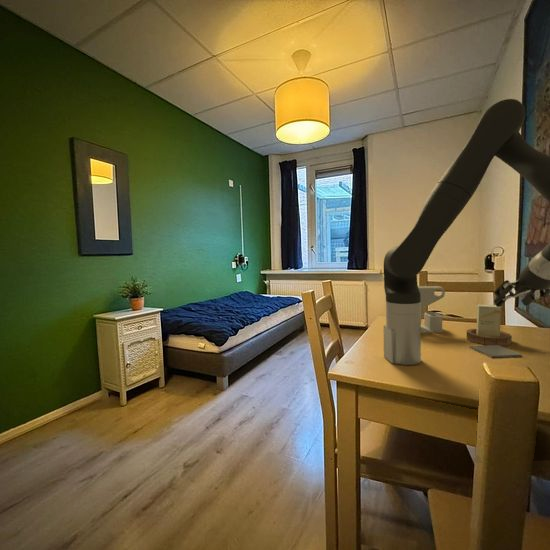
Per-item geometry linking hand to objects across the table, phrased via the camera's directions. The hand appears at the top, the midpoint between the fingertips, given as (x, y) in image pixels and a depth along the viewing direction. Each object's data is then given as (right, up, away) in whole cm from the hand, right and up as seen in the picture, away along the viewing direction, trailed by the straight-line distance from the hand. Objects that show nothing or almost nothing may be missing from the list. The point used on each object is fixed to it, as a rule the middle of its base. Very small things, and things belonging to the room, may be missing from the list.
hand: (510, 304), depth 90 cm
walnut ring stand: (0, -13, +10) cm, 17 cm away
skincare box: (0, -14, +10) cm, 17 cm away
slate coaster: (-6, -15, -2) cm, 16 cm away
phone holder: (-16, -13, +27) cm, 34 cm away
